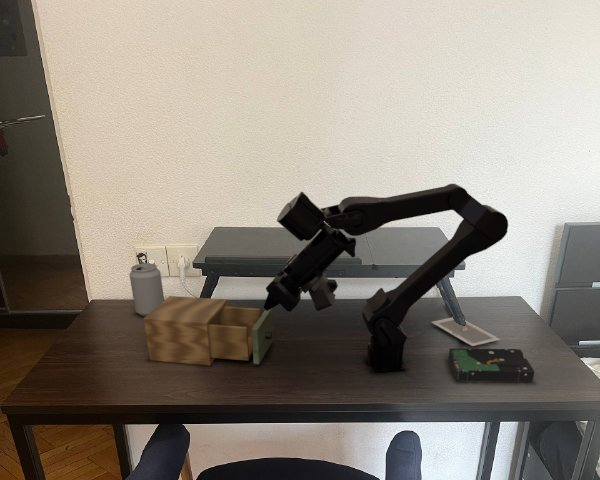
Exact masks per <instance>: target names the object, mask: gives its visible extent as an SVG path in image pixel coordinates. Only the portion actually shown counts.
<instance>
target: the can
mask: <svg viewBox="0 0 600 480" xmlns="http://www.w3.org/2000/svg"><path fill="white" fill-rule="evenodd" d="M130 270H131V271H130V272H129V273H128V274H129V281H130V287H131V292H132V299H133V305H134V311H135V313H137V314H138V315H140V316H142V317H146V316H147V315H148V314H150V313H151V312H152V311H153V310H154V309H155V308H156V307H157V306H159V305H160V304H161V303H162V302H163V301H164V300H165V297H164V290H163V289H164V288H163V282H162V281H163V280H162V274H161V273H162V272H161V270H160V269H158V265H157V264H156V263H152V262H151V263H150V262H144V263H137V264H134V265H132V266H131V267H130Z"/></svg>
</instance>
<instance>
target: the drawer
mask: <svg viewBox="0 0 600 480" xmlns="http://www.w3.org/2000/svg"><path fill="white" fill-rule="evenodd" d="M273 315H274V314H273V308H272V309H270V310H268V311H267V310H265V309H264V311H263V312H261V308H254V307H239V306H227V307H226V306H224V307H223V308H222V309H221V311H220V312H219V313H218V314H217V315H216V316H215V317H214V319H213V320H212V321H211V322H210V323H209V324H208V334H209V344H210V354H211V358H215V359H223V360H236V361H247V362H248V361H250V359H251V357H253V358H252V359H253V360H252V361H253V365H260V364H261V362H262V361H263V359H264V358H265V355H267V352H268V350H269V349H270V347H271V345H272V343H273V341H274V317H273Z"/></svg>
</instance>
